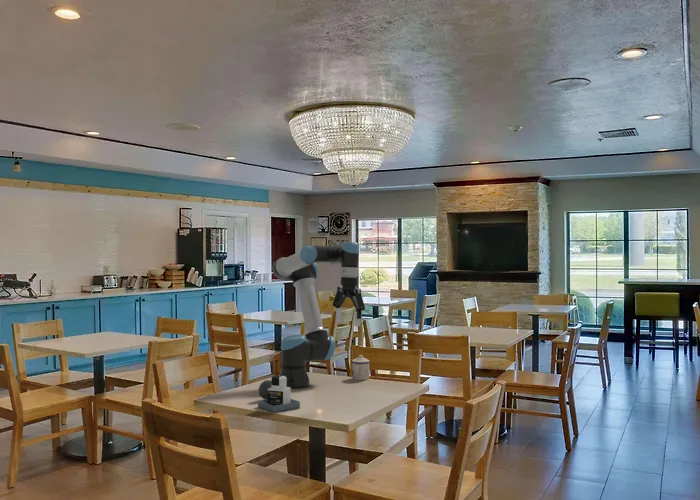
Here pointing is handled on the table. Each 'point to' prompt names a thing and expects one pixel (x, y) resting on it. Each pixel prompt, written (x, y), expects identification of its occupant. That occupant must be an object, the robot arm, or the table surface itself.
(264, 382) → the disc
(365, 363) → the teacup with lid
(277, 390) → the medicine bottle
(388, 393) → the table surface
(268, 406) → the tray
